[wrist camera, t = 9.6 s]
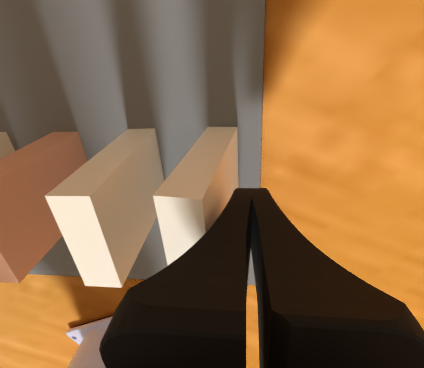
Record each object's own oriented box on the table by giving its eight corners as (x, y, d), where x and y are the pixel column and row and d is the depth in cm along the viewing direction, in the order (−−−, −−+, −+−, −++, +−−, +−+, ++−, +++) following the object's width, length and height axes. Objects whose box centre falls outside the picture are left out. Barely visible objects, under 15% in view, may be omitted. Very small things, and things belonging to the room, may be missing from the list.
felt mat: (268, -146, 9) (269, -149, 9) (257, 283, 20) (257, 285, 20) (-283, -55, 13) (-291, -56, 12) (-37, 268, 23) (-39, 270, 23)
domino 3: (237, 126, 14) (201, 199, 8) (238, 197, 16) (211, 295, 10) (208, 126, 14) (153, 195, 8) (213, 195, 16) (172, 289, 10)
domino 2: (155, 128, 14) (89, 196, 8) (167, 195, 17) (122, 287, 11) (127, 129, 15) (44, 195, 9) (143, 195, 17) (85, 285, 11)
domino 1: (78, 131, 15) (-34, 197, 9) (98, 195, 17) (19, 283, 11) (52, 132, 15) (-73, 196, 9) (76, 195, 17) (-14, 281, 11)
